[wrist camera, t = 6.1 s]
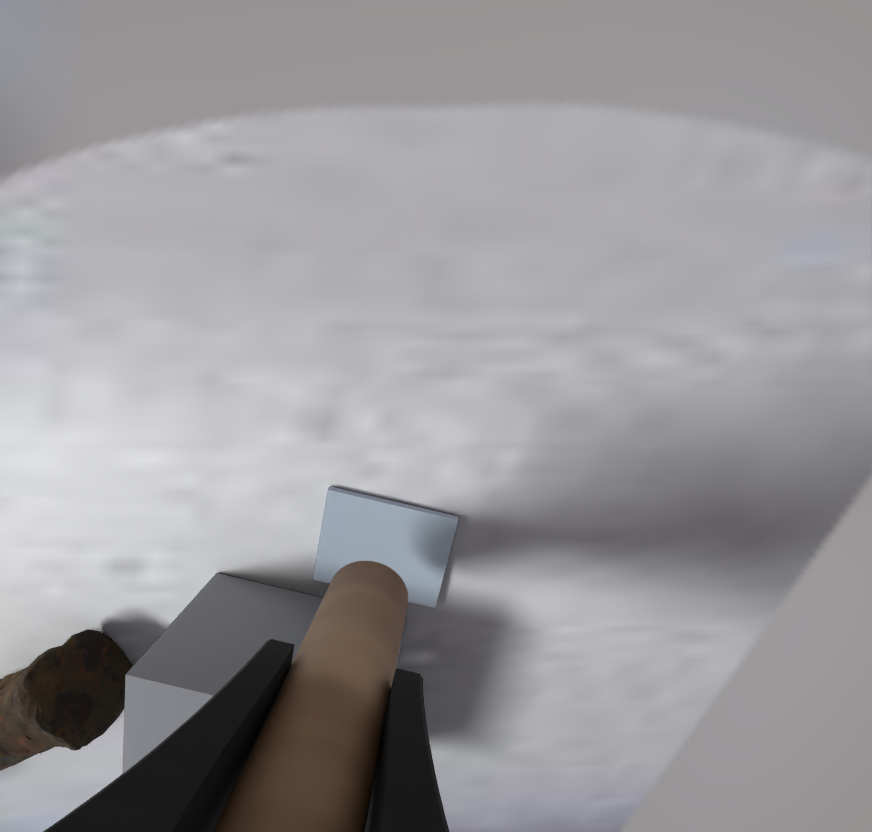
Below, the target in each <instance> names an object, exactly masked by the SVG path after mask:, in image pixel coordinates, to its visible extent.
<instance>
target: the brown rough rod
mask: <svg viewBox="0 0 872 832" xmlns="http://www.w3.org/2000/svg"><path fill="white" fill-rule="evenodd" d="M132 667H133V665H132V664H131V662H130V661H129V660H128V659H127V657H126V655H125V653H124V652H123V651H122V650H121V648H120V647H119V646H118V645H117V644H116V643H115V642H113V641H112V640H111V639H110V638H108V637H107V636H105V635H104V634H102V633H101V632H100V631H95V630H85V631H83V632H80V633H77V634H75V635H72V636H71V637H70V638H69V639H68V640H67V641H66V642H65V643H64V645H62V646H59V647H55V648H51V649H48V650H47V651H45V652H44V653H43V654H41V655H40V656H38V657H37V658H36V659H35V660H34V661H33V662H32V663H31V664H30V666H29V667H27V668H25V669H23V670H21V671H18V672H17V673H13V674H10V675H7V676H6V677H4V678H3V679H0V771H1V770H3V769H5V768H8V767H10V766H13V765H15V764H17V763H19V762H21V761H23V760H25V759H28V758H30V757H32V756H34V755H36V754H38V753H41V752H44V751H47V750H49V749H51V748H53V747H55V746H56V747H57V746H58V747H67V748H69V749H71V750H79V749H81V747H83V746H86V745H88V744H89V743H90V742H91V741H93V740H94V739H96V738H98V737H99V736H101V735H102V734H104V732H105V731H106V730H107V729H108V728H109V727H110V726H111V725H112V724H113V723H114V721H115V720H116V719H117V718H118V717H119V716H120V714H121V712H122V711H123V709H124V708H125V676H126V674H127V672H128V671H129V670H130V669H131V668H132Z"/></svg>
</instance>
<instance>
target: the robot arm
mask: <svg viewBox="0 0 872 832" xmlns="http://www.w3.org/2000/svg"><path fill="white" fill-rule="evenodd" d="M294 645H295V644H291V643H286V642H282V641H278V640H274V639H270V640H268V641H266V642H265V643H264V645H263V646H262V647H261V648H260V649H259V650H258V651H257V652H256V653H255V655H254V656H253V657H252V658H251V659H250V660H249V661H248V662H247V663H246V664H245V665H244V666H243V667H242V668H241V669H240V670H239V671H238V672H237V673H236V674H235V675H234V676H233V677H232V678H231V679H230V680H229V681H228V682H227V683H226V684H225V685H224V686H223V687H222V688H221V689H220V690H219V691H218V692H217V693H216V694H215V695H214V696H213V697H212V698H211V699H210V700H209V701H208V702H206V703H205V704H204V705H203V706H202V707H201V708H200V709H199V710H198V711H197V712H196V713H195V714H194V715H192V716H191V717H190V718H189V719H188V720H187V721H186V722H185V723H183V724H182V725H181V726H180V727H179V728H178V729H176V730H175V731H174V732H173V733H172V734H171V735H170V736H168V737H167V738H166V739H165V740H164V741H163V742H162V743H160V744H159V745H158V746H157V747H156V748H154V749H153V750H152V751H151V752H150V753H148V754H147V755H146V756H145V757H143V758H142V759H141V760H140V761H139V762H137V763H136V764H135V765H134V766H132V767H131V768H130V769H128V770H127V771H126V772H125V773H123V774H122V775H121V776H119V777H118V778H117V779H116V780H114V781H113V782H112V783H110V784H109V785H108V786H106V787H105V788H104V789H102V790H101V791H100V792H98V793H97V794H96V795H94V796H93V797H91V798H90V799H89V800H87V801H86V802H84V803H83V804H82V805H80V806H79V807H78V808H76V809H75V810H73V811H72V812H71V813H69V814H68V815H67V816H65V817H64V818H62V819H61V820H59V821H58V822H57V823H55V824H54V825H52V826H51V827H49V828H48V829H46V830H45V831H44V832H213V830H214V828H215V826H216V824H217V822H218V819H219V817H220V815H221V813H222V811H223V809H224V807H225V805H226V802H227V800H228V798H229V796H230V794H231V792H232V790H233V788H234V786H235V783H236V781H237V779H238V777H239V775H240V773H241V771H242V769H243V766H244V764H245V762H246V760H247V758H248V756H249V754H250V752H251V750H252V747H253V745H254V743H255V741H256V739H257V737H258V735H259V733H260V731H261V728H262V726H263V724H264V722H265V720H266V718H267V716H268V714H269V711H270V709H271V707H272V705H273V703H274V701H275V699H276V697H277V695H278V692H279V690H280V688H281V686H282V684H283V682H284V680H285V678H286V676H287V673H288V671H289V669H290V667H291V664H292V657H293V651H294ZM365 832H449V829H448V825H447V821H446V817H445V813H444V809H443V805H442V801H441V797H440V793H439V788H438V784H437V779H436V775H435V770H434V765H433V759H432V754H431V749H430V744H429V738H428V731H427V724H426V717H425V708H424V697H423V678H422V677H421V675H420V674H418V673H413V672H409V671H405V670H401V669H397V668H396V670H395V674H394V678H393V682H392V686H391V690H390V696H389V701H388V706H387V711H386V717H385V722H384V727H383V734H382V742H381V748H380V753H379V759H378V764H377V769H376V775H375V780H374V785H373V791H372V796H371V801H370V806H369V812H368V817H367V822H366V828H365Z"/></svg>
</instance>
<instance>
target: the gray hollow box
mask: <svg viewBox="0 0 872 832" xmlns="http://www.w3.org/2000/svg"><path fill="white" fill-rule="evenodd" d="M322 599H323V598H321V597H317V596H313V595H308V594H304V593H300V592H296V591H291V590H287V589H283V588H279V587H274V586H270V585H266V584H262V583H257V582H253V581H249V580H245V579H240V578H236V577H232V576H228V575H223V574H219V573H216V574H215V575H214V577H213V578H212V579H211V580H210V581H209V582H208V583H207V584H206V585H205V587H204V588H203V589H202V590H201V591H200V592H199V593H198V594H197V595H196V597H195V598H194V599H193V600H192V601H191V602H190V603H189V604H188V606H187V607H186V608H185V609H184V610H183V611H182V612H181V613H180V614H179V616H178V617H177V618H176V619H175V620H174V621H173V622H172V623H171V624H170V626H169V627H168V628H167V629H166V630H165V631H164V632H163V633H162V635H161V636H160V637H159V638H158V639H157V640H156V641H155V642H154V643H153V645H152V646H151V647H150V648H149V649H148V650H147V651H146V652H145V653H144V655H143V656H142V657H141V658H140V659H139V660H138V661H137V662H136V664H135V665H134V666H133V667H132V668H131V669H130V670H129V671H128V672H127V674H126V676H125V710H124V743H123V773H125V772H126V771H127V770H128V769H130V768H131V767H132V766H134V765H135V764H136V763H137V762H139V761H140V760H141V759H142V758H143V757H145V756H146V755H147V754H148V753H150V752H151V751H152V750H153V749H154V748H156V747H157V746H158V745H159V744H160V743H162V742H163V741H164V740H165V739H166V738H167V737H168V736H170V735H171V734H172V733H173V732H174V731H175V730H176V729H178V728H179V727H180V726H181V725H182V724H183V723H185V722H186V721H187V720H188V719H189V718H190V717H191V716H192V715H194V714H195V713H196V712H197V711H198V710H199V709H200V708H201V707H202V706H203V705H204V704H205V703H206V702H208V701H209V700H210V699H211V698H212V697H213V696H214V695H215V694H216V693H217V692H218V691H219V690H220V689H221V688H222V687H223V686H224V685H225V684H226V683H227V682H228V681H229V680H230V679H231V678H232V677H233V676H234V675H235V674H236V673H237V672H238V671H239V670H240V669H241V668H242V667H243V666H244V665H245V664H246V663H247V662H248V661H249V660H250V659H251V658H252V657H253V656H254V655H255V653H256V652H257V651H258V650H259V649H260V648H261V647H262V646H263V645H264V643H265V642H266V641H268V640H270V639H274V640H278V641H282V642H286V643H291V644H295V645H294V651H293V657H292V663H293V661H294V659H295V656H296V654H297V652H298V650H299V648H300V646H301V644H302V642H303V640H304V637H305V635H306V633H307V631H308V629H309V627H310V625H311V623H312V620H313V618H314V616H315V614H316V612H317V610H318V608H319V606H320V604H321V601H322ZM405 623H406V617H405V621H404V626H403V632H402V637H401V642H400V648H399V653H398V658H397V663H396V668H397V667H398V662H399V656H400V651H401V645H402V640H403V634H404V629H405ZM291 665H292V664H291ZM395 670H396V669H395Z"/></svg>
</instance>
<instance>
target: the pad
mask: <svg viewBox="0 0 872 832" xmlns="http://www.w3.org/2000/svg"><path fill="white" fill-rule="evenodd" d="M458 520H459V516H455V515H451V514H446V513H442V512H438V511H433V510H429V509H425V508H421V507H416V506H412V505H408V504H404V503H399V502H395V501H391V500H386V499H382V498H378V497H374V496H369V495H365V494H361V493H357V492H352V491H348V490H344V489H339V488H335V487H331V486H330V487H329V488H328V490H327V496H326V502H325V508H324V514H323V520H322V526H321V532H320V538H319V544H318V550H317V556H316V562H315V568H314V574H313V580H317V581H321V582H326V583H330V582H331V580H332V578H333V577H334V575H335V574H336V573H337V571H338V570H340V569H341V568H342V567H344V566H345V565H347V564H350V563H352V562H356V561H374V562H378V563H381V564H384V565H386V566H388V567H390V568H391V569H392V570H394V571H395V572H396V573H397V574H398V575H399V576H400V577H401V578H402V580H403V581H404V583H405V585H406V588H407V591H408V602H411V603H415V604H419V605H424V606H428V607H432V608H435V607H436V603H437V599H438V596H439V592H440V588H441V584H442V581H443V577H444V573H445V569H446V566H447V562H448V558H449V554H450V550H451V547H452V543H453V539H454V535H455V532H456V528H457V524H458Z"/></svg>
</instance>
